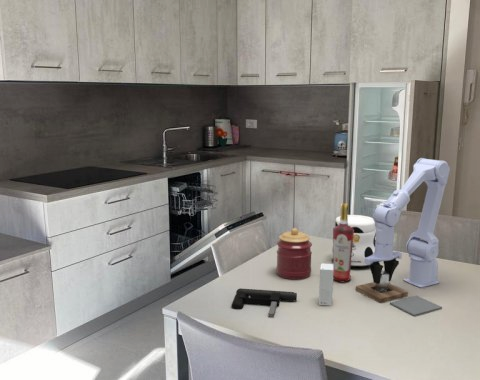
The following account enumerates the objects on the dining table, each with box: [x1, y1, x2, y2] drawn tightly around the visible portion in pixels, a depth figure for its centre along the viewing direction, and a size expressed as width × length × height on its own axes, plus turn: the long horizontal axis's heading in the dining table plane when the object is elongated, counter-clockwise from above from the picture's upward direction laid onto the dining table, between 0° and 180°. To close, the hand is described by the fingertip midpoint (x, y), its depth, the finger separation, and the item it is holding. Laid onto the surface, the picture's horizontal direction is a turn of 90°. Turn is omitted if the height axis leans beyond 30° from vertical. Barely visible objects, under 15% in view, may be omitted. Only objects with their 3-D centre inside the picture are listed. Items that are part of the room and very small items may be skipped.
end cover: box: [375, 270, 390, 292], centre depth 162 cm, size 4×4×6 cm
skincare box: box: [318, 263, 334, 306], centre depth 155 cm, size 6×4×12 cm
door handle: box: [230, 287, 298, 319], centre depth 153 cm, size 3×20×16 cm
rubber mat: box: [389, 295, 443, 317], centre depth 152 cm, size 12×10×1 cm
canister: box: [276, 227, 313, 280], centre depth 179 cm, size 13×13×18 cm
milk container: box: [331, 214, 376, 268], centre depth 191 cm, size 17×17×18 cm
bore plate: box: [355, 281, 409, 304], centre depth 163 cm, size 12×12×2 cm
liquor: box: [332, 202, 354, 283], centre depth 172 cm, size 7×7×28 cm
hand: (382, 281), depth 162 cm, fingers closed on end cover, 4 cm apart
